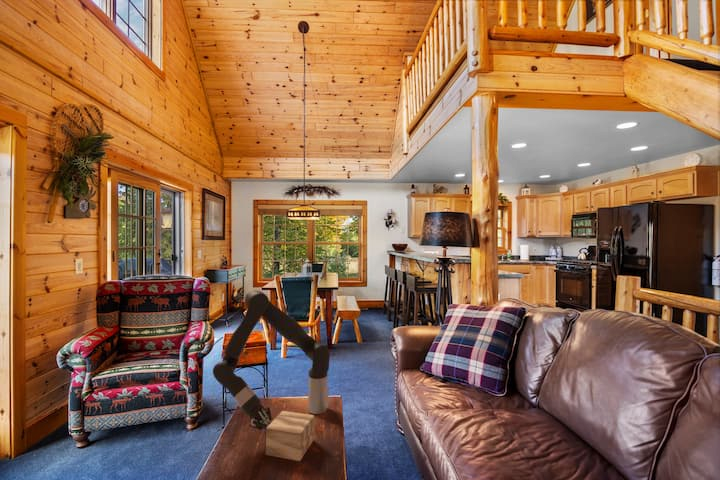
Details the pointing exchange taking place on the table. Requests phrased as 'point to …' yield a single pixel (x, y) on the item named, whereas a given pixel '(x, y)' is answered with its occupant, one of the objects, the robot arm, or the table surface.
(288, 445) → the socket block
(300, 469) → the table surface
